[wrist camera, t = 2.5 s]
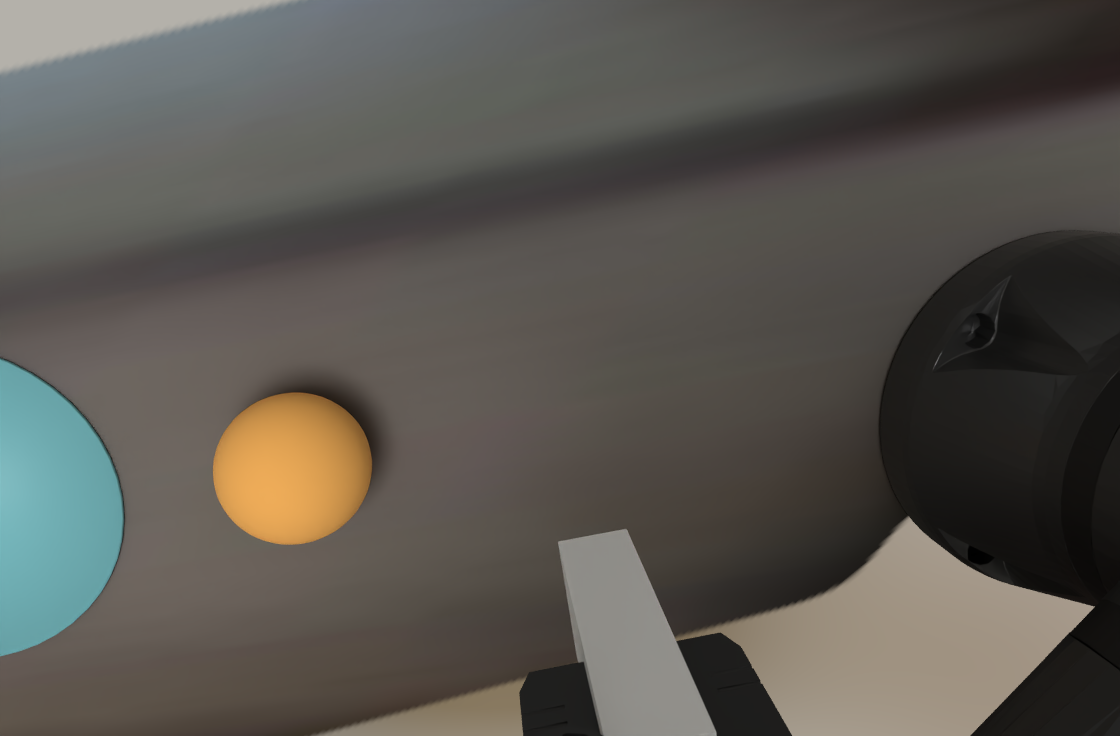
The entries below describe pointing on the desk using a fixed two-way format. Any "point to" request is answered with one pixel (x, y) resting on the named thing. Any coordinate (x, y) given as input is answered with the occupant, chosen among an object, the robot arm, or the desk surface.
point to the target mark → (51, 511)
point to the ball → (292, 468)
